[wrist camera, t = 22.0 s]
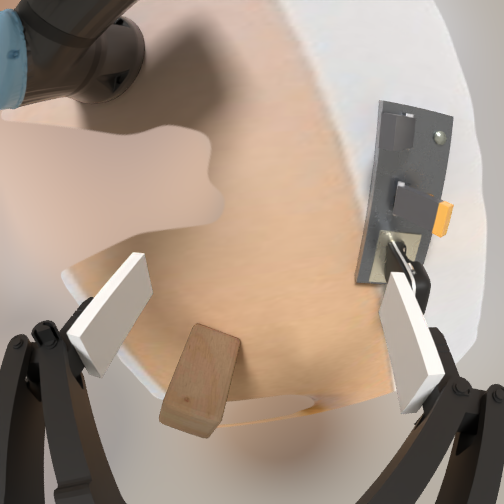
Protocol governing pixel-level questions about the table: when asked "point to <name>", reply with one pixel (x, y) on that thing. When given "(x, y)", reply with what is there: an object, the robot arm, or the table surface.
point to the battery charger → (408, 272)
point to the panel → (413, 175)
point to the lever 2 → (422, 209)
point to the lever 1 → (396, 131)
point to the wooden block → (201, 382)
